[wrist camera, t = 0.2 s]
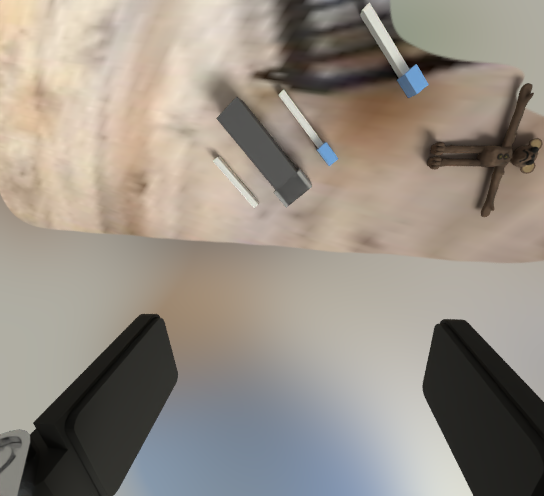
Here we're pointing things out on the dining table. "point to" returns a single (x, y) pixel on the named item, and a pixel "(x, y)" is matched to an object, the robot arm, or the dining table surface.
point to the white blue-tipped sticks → (407, 79)
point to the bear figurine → (494, 152)
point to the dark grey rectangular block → (264, 152)
